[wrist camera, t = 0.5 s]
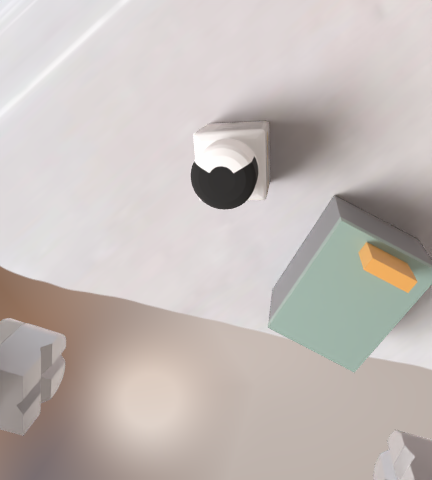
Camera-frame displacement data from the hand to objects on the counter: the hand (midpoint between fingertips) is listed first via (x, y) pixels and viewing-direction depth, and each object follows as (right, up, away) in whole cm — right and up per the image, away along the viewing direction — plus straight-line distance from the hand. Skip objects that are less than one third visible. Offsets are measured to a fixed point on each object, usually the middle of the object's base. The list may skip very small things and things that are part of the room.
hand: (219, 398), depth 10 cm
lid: (+15, -3, +37) cm, 40 cm away
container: (+3, +15, +41) cm, 44 cm away
